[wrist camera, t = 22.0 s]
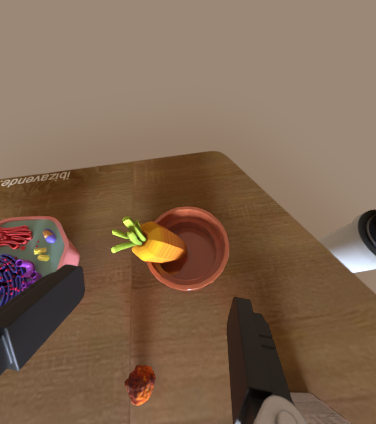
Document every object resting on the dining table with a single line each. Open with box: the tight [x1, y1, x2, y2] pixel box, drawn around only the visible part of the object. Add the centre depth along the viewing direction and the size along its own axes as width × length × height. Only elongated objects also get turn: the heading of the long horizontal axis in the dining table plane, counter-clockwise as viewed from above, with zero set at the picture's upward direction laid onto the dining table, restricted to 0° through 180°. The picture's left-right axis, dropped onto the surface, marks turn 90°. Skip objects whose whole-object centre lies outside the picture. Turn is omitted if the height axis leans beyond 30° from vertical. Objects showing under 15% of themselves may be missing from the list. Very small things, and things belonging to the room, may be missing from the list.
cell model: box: [0, 216, 80, 307], centre depth 25 cm, size 17×20×11 cm
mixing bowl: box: [146, 206, 229, 292], centre depth 29 cm, size 12×12×6 cm
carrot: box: [111, 216, 187, 263], centre depth 25 cm, size 5×5×15 cm
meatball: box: [125, 365, 156, 405], centre depth 23 cm, size 4×4×4 cm
